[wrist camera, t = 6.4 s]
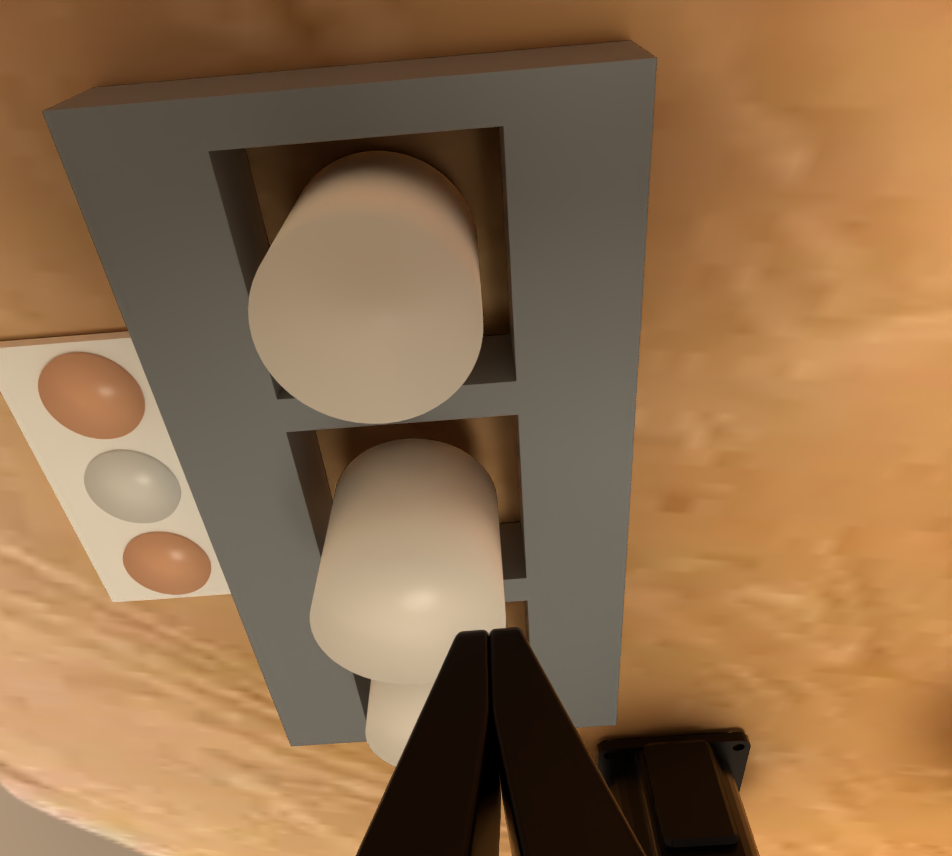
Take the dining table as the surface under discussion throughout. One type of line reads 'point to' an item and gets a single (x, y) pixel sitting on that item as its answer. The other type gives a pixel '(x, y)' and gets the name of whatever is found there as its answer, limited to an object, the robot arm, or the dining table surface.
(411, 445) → the button
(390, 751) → the button
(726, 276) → the dining table surface
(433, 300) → the button
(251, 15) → the dining table surface
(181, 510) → the card
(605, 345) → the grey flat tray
